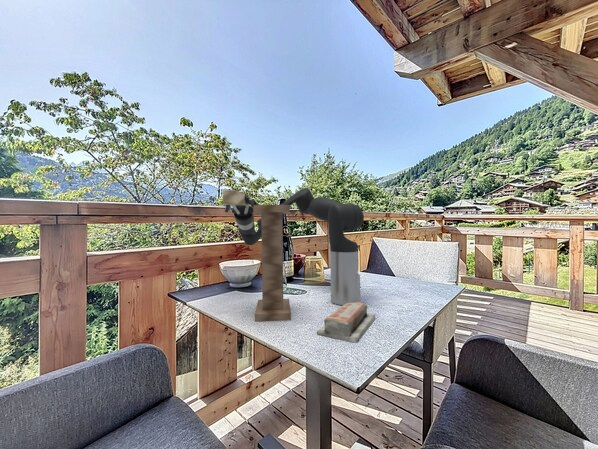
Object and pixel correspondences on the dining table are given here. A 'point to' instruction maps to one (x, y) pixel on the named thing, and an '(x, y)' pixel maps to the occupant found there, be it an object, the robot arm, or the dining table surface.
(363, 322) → the red and grey block
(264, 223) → the stand
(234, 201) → the beige wooden bar
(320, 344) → the dining table surface
